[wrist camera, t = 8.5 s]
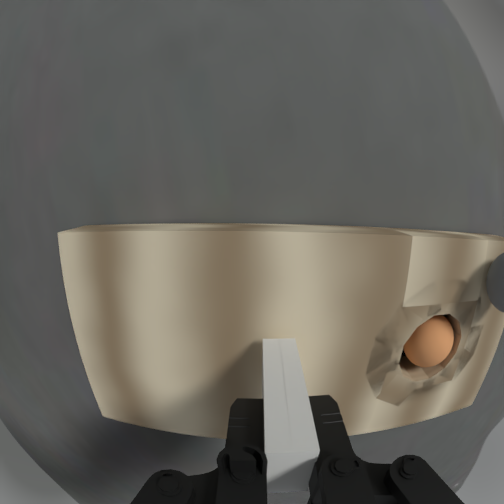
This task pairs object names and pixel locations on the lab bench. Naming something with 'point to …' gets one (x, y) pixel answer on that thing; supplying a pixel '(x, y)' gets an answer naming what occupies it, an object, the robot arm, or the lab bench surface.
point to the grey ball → (496, 283)
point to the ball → (430, 342)
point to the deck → (276, 317)
